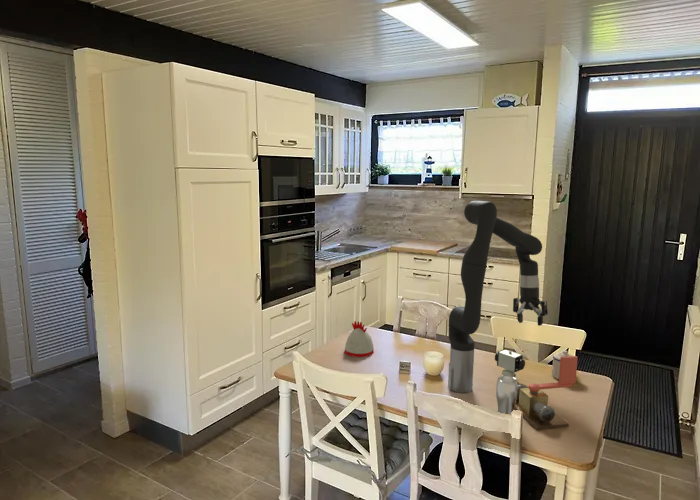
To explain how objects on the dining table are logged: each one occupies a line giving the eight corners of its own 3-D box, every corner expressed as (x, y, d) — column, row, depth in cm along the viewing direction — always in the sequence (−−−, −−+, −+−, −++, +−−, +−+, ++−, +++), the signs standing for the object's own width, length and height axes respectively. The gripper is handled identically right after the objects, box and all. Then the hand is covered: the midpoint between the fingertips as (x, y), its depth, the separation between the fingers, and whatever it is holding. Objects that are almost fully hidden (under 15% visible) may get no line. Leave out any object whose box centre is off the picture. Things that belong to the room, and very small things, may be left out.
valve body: (568, 426, 165) (570, 403, 163) (536, 430, 162) (538, 406, 161) (533, 397, 186) (534, 376, 185) (504, 399, 184) (505, 378, 182)
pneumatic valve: (518, 384, 197) (519, 356, 196) (493, 375, 206) (494, 348, 204) (525, 380, 201) (527, 353, 199) (500, 371, 210) (502, 345, 208)
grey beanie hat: (355, 344, 242) (356, 315, 240) (379, 350, 234) (379, 320, 232) (339, 352, 231) (339, 322, 228) (363, 359, 223) (363, 328, 220)
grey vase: (491, 415, 172) (493, 375, 170) (510, 414, 173) (513, 375, 170) (499, 425, 165) (501, 384, 163) (518, 424, 166) (521, 383, 163)
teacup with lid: (569, 383, 198) (571, 356, 196) (547, 376, 205) (549, 350, 203) (580, 375, 207) (582, 349, 205) (559, 369, 213) (561, 343, 211)
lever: (532, 392, 171) (534, 361, 169) (526, 387, 174) (528, 357, 172) (577, 388, 174) (579, 358, 172) (571, 384, 177) (573, 354, 175)
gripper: (509, 285, 204) (510, 323, 205) (541, 288, 193) (541, 328, 194) (518, 283, 209) (519, 320, 210) (550, 285, 198) (550, 324, 199)
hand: (530, 323), depth 202 cm, fingers open, 8 cm apart
